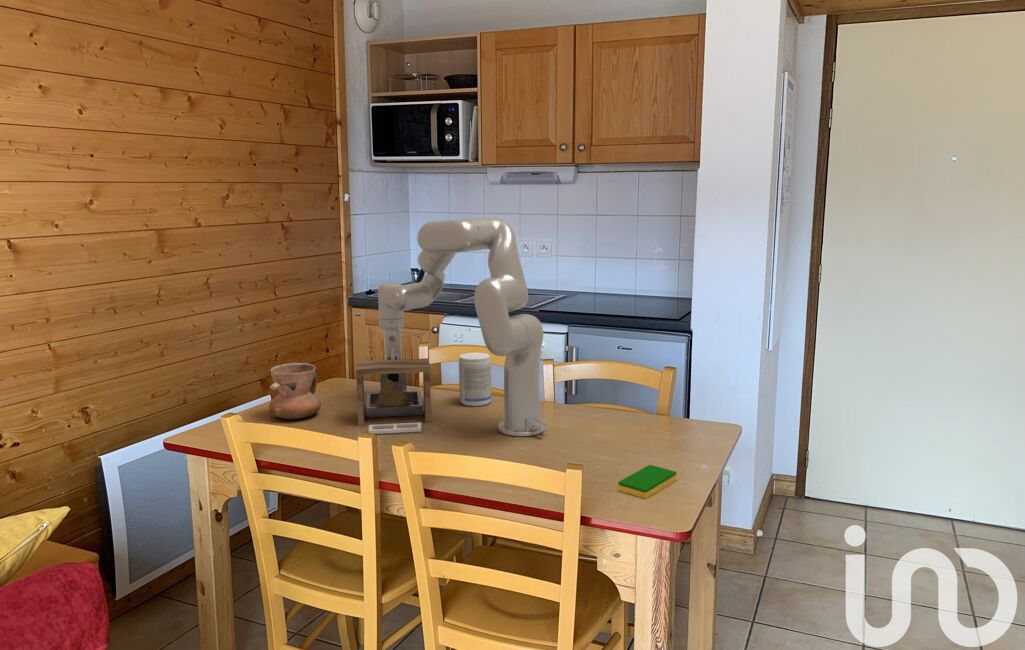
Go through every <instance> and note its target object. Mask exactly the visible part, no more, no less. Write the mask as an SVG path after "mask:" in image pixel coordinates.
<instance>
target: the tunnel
mask: <svg viewBox="0 0 1025 650" xmlns="http://www.w3.org/2000/svg"><path fill="white" fill-rule="evenodd" d="M355 371H356V373H355V374H356V377H355V378H356V397H357V399H356V401H357V402H356V403H357V420H358V421H357V422H358V424H357V425H358V427H359V426H360V427H361V426H365V418H366V405H365V387H364V385H365V383H364V375H380V374H391V373H406V374H411V373H417V374H418V373H422V378H423V379H422V382H423V383H422V384H423V385H422V386H423V387H422V388H423V390H422V391H423V415H424V421H425V423H432V408H431V405H432V402H431V401H432V399H431V397H432V396H431V395H432V394H431V365H430V362H429V358H428V357H427V358H405V359H403V358H402V359H400V360H398V359H397V360H386V359H381V360H379V359H376V360H375V359H374V360H373V359H372V360H357V363H356V368H355Z"/></svg>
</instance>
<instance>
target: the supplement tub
mask: <svg viewBox="0 0 1025 650" xmlns="http://www.w3.org/2000/svg"><path fill="white" fill-rule="evenodd" d="M458 359H459V360H458V374H459V376H458V377H459V378H458V379H459V381H458V383H459V402H460V404H462V405H463V406H468V407H481V406H486V405H488V404H490V403H491V402H492V375H491V374H492V370H491V369H492V366H491V365H492V364H491V357H490V354H488V353H486V352H467V353H462V354H460V355H459V357H458Z"/></svg>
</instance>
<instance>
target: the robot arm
mask: <svg viewBox="0 0 1025 650" xmlns="http://www.w3.org/2000/svg"><path fill="white" fill-rule="evenodd" d="M416 239H417V244H418V247H419V248H420V249H421V251H420V252H419V254H418V256H417V264H418V265H419V267H420V268H421V269H422V270H423V272H425V273H426V274H425V275H424V276H423V278H422V280H421V281H419V282H414V283H413V282H412V283H407V284H401V283H399V282H384V283H383V282H382V283H381V284H379V286H378V288H377V295H378V296H377V299H378V303H377V304H378V328H379V330H383V331H382V332H383V349H384V354H385V355H384V356H385V360H400V359H403V352H402V351H403V346H402V345H403V344H402V343H403V342H402V329H404V328H405V313H404V311H411V310H413V309H419V308H425V307H428V306H430V305H431V304H432V303H433V302H434V301H435V300H436V299H437V297H438V296H439V294H440V293H441V292H442V290H443V289H444V286H445V285H444V284H445V270H446V269H447V267H448V266H449V264H450V263H451V262H452V260H453V259H454V257H455V256H456V255H457V253H465V252H466V253H467V252H474V251H483V250H489V252H488V257H487V265H488V270H489V274H490V277H489V278H485V279H483V280H482V281H480V282H479V283H478V285H477V286H476V288H475V290H474V294H473V295H474V296H473V301H474V306H475V312H476V314H477V319H478V322H479V327H480V331H481V334H482V335H481V336H482V338H483V341H484V344H485V346H486V348H487V350H488V351H489V352H490V354H492V355H495V356H496V357H505V359H504V365H503V420H502V421H501V422H499V423H498V427H497V428H498V431H499V432H501V433H502V434H504V435H508V436H510V437H511V436H512V437H513V436H514V437H530V436H531V437H533V436H536V435H539V434H541V433H543V432H544V431H545V430H546V428H547V427H548V426H549V422H547V421H543V419H542V418H543V416H542V414H540V364H541V363H540V361H541V360H540V359H541V352H542V345H543V339H544V329H543V325H542V323H541V321H540V319H538V317H536V316H534V315H533V314H532V315H531V314H527V313H521V314H516V315H512V316H510V315H509V313H510V312H513V311H516V310H517V311H518V310H521V309H522V308H524V307H525V306H526V305H527V304H528V301H529V292H528V291H529V290H528V286H527V283H526V279H525V276H524V275H525V274H524V271H523V268H522V267H523V266H522V264H521V260H520V256H519V251H518V250H519V249H518V245H517V238H516V235H515V231H514V230H513V228H512V226H511V225H510V224H509V223H508V222H506V221H505V220H503V219H501V218H496V217H495V218H494V217H478V218H476V217H475V218H467V219H466V218H465V219H453V220H450V219H447V220H431V221H427V222H426V223H424V224H423V225H421V226H420V228H419V230H418V232H417V238H416ZM388 380H391V381H393V382H398V381H399V375H398V373H391V374H388Z"/></svg>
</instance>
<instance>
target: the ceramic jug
mask: <svg viewBox="0 0 1025 650" xmlns="http://www.w3.org/2000/svg"><path fill="white" fill-rule="evenodd" d="M270 375H271V376H270V377H271V378H272V382H273V383H272V384H271V385H270V386H269V387H270V389H271V390H277V391H278V394H277V395H276V396H275V397H273V398H272V399H271V401H269V404H268V409H269V412H270V413H271V414H272V416H274V417H276V418H278V419H283V420H298V419H299V420H300V419H305V418H308V417H310V416H312V415H315V414H316V413H317V412H319V410H320V409H321V406H322V401H321V399H320V397H318V396H317V395H316V394H315V393H316V390H317V386H318V376H317V374H316V366H315V365H314V364H311V363H308V362H293V363H285V364H280V365H279V364H278V365H276V366H273V367H271V368H270Z"/></svg>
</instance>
